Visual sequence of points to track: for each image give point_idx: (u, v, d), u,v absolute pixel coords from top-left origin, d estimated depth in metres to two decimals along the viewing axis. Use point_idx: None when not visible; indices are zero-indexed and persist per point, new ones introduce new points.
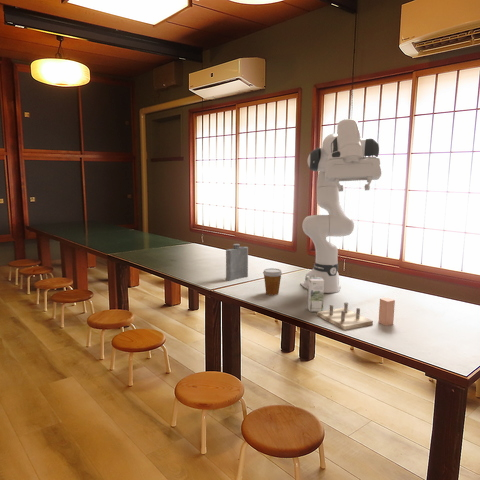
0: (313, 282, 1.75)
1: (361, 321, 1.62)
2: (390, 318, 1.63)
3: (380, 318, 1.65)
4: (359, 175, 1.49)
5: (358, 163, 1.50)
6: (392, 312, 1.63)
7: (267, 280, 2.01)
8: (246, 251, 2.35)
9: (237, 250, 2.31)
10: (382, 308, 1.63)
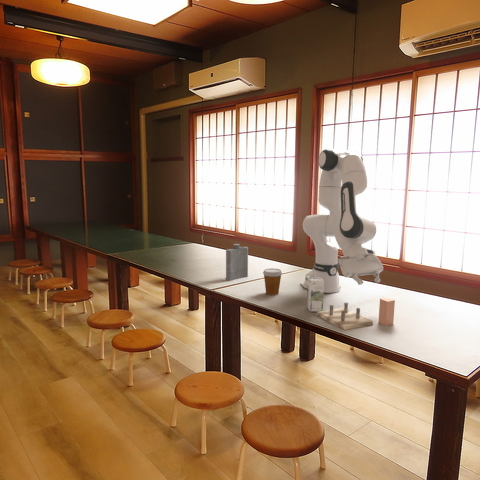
0: (313, 282, 1.75)
1: (361, 321, 1.62)
2: (390, 318, 1.63)
3: (380, 318, 1.65)
4: None
5: None
6: (392, 312, 1.63)
7: (267, 280, 2.01)
8: (246, 251, 2.35)
9: (237, 250, 2.31)
10: (382, 308, 1.63)
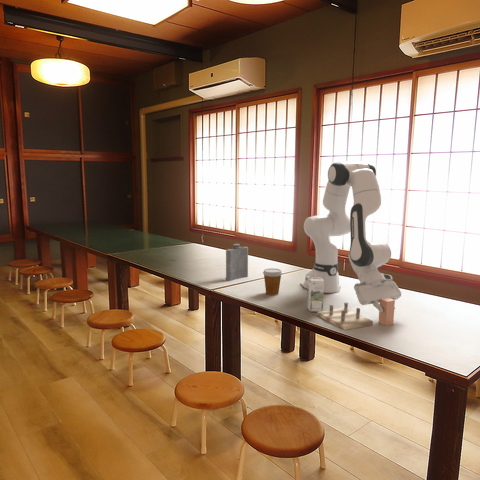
0: (313, 282, 1.75)
1: (361, 321, 1.62)
2: (390, 318, 1.63)
3: (380, 318, 1.65)
4: None
5: None
6: (392, 312, 1.63)
7: (267, 280, 2.01)
8: (246, 251, 2.35)
9: (237, 250, 2.31)
10: None
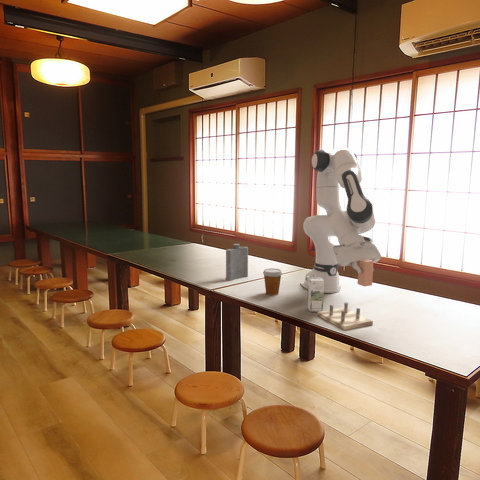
0: (313, 282, 1.75)
1: (361, 321, 1.62)
2: (369, 279, 1.62)
3: (359, 279, 1.64)
4: None
5: None
6: (371, 273, 1.62)
7: (267, 280, 2.01)
8: (246, 251, 2.35)
9: (237, 250, 2.31)
10: None
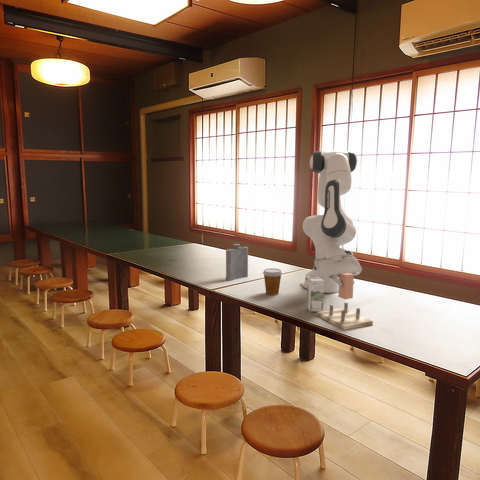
0: (313, 282, 1.75)
1: (361, 321, 1.62)
2: (349, 292, 1.65)
3: (340, 292, 1.66)
4: None
5: None
6: (351, 286, 1.65)
7: (267, 280, 2.01)
8: (246, 251, 2.35)
9: (237, 250, 2.31)
10: None
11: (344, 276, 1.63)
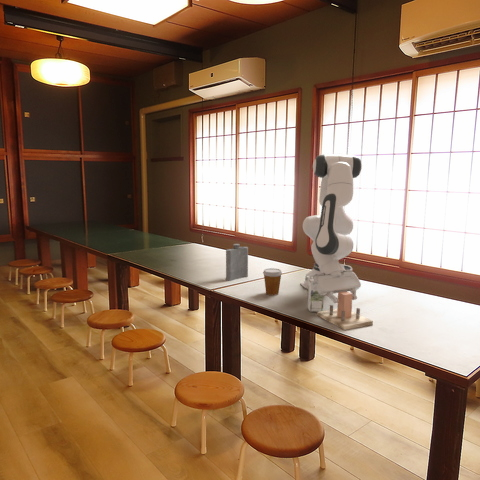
0: (313, 282, 1.75)
1: (361, 321, 1.62)
2: (348, 311, 1.66)
3: (338, 311, 1.68)
4: None
5: None
6: (350, 305, 1.66)
7: (267, 280, 2.01)
8: (246, 251, 2.35)
9: (237, 250, 2.31)
10: (340, 302, 1.66)
11: (343, 296, 1.65)
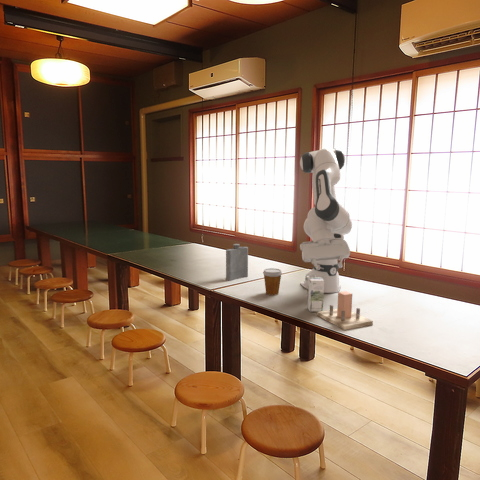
0: (313, 282, 1.75)
1: (361, 321, 1.62)
2: (348, 311, 1.66)
3: (338, 311, 1.68)
4: None
5: None
6: (350, 305, 1.66)
7: (267, 280, 2.01)
8: (246, 251, 2.35)
9: (237, 250, 2.31)
10: (340, 302, 1.66)
11: (343, 296, 1.65)
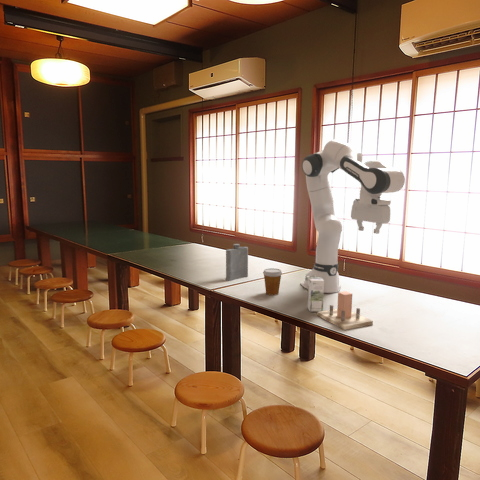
0: (313, 282, 1.75)
1: (361, 321, 1.62)
2: (348, 311, 1.66)
3: (338, 311, 1.68)
4: None
5: None
6: (350, 305, 1.66)
7: (267, 280, 2.01)
8: (246, 251, 2.35)
9: (237, 250, 2.31)
10: (340, 302, 1.66)
11: (343, 296, 1.65)
